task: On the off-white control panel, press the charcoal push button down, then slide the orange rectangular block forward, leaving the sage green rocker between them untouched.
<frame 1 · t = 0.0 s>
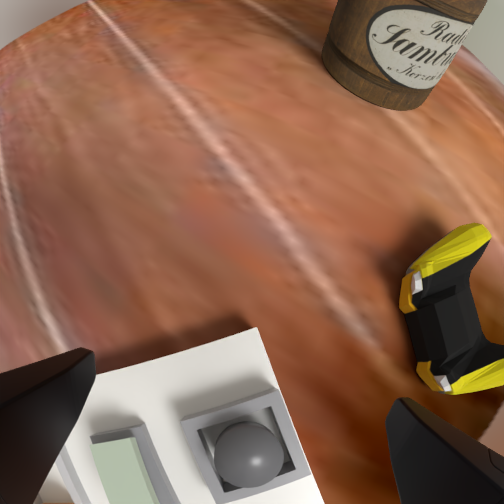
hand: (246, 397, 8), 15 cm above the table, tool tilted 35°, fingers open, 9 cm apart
rocker: (126, 484, 15), point 5 cm above the table, hinge at 12.0°
panel: (143, 463, 19), on the table
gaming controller: (444, 322, 25), on the table
push button: (247, 454, 16), point 5 cm above the table, slide at 0.0 cm
wooden container: (375, 72, 35), on the table
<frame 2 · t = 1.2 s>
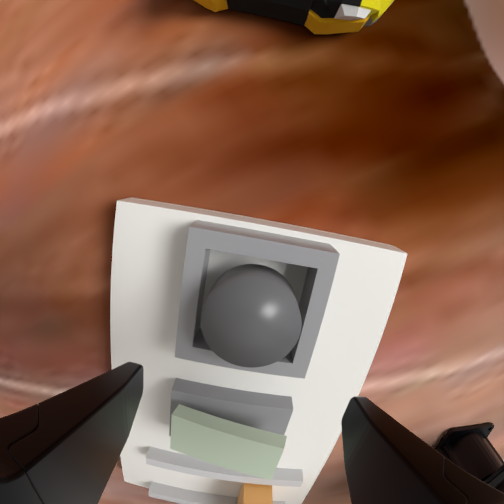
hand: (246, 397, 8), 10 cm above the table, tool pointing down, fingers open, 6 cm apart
rocker: (225, 444, 15), point 5 cm above the table, hinge at 12.0°
panel: (231, 393, 20), on the table
push button: (251, 315, 14), point 5 cm above the table, slide at 0.0 cm
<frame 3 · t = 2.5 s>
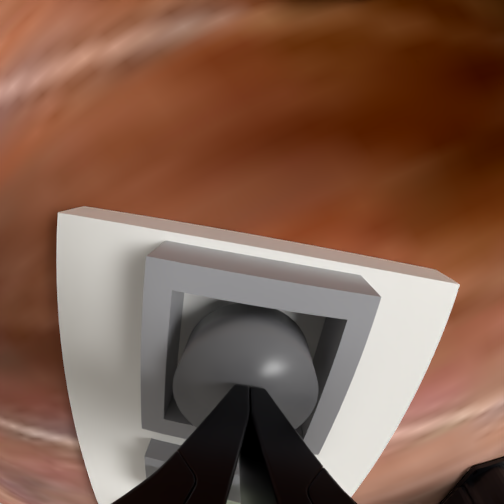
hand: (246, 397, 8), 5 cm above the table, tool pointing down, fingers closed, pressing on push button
panel: (223, 448, 15), on the table
push button: (246, 376, 9), point 4 cm above the table, slide at 0.7 cm, touching gripper
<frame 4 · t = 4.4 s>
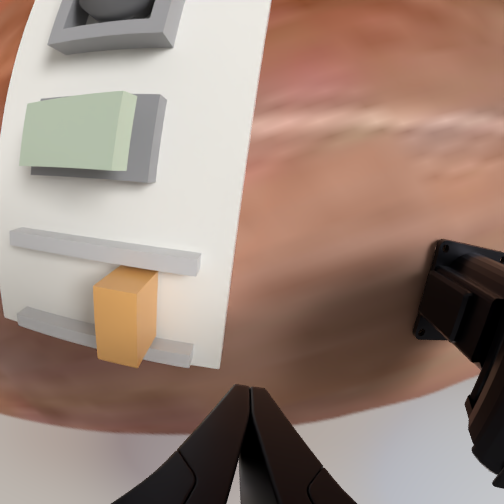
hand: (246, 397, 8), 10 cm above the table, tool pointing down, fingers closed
rocker: (69, 132, 11), point 5 cm above the table, hinge at 12.0°
panel: (114, 140, 16), on the table
orange rectangular block: (127, 314, 14), point 4 cm above the table, slide at 0.0 cm
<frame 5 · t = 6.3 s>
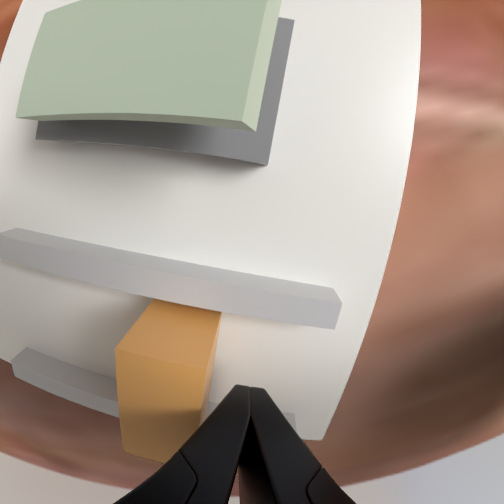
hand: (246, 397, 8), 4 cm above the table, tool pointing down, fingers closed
rocker: (125, 51, 5), point 5 cm above the table, hinge at 12.0°
panel: (178, 97, 10), on the table
orange rectangular block: (172, 381, 8), point 4 cm above the table, slide at 1.1 cm, touching gripper
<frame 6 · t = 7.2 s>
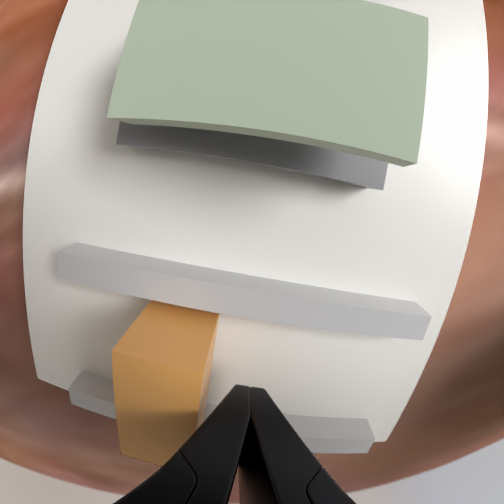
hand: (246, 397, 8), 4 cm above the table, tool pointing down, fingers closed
rocker: (264, 60, 5), point 5 cm above the table, hinge at 12.0°
panel: (261, 108, 10), on the table
orange rectangular block: (169, 383, 8), point 4 cm above the table, slide at 4.1 cm, touching gripper
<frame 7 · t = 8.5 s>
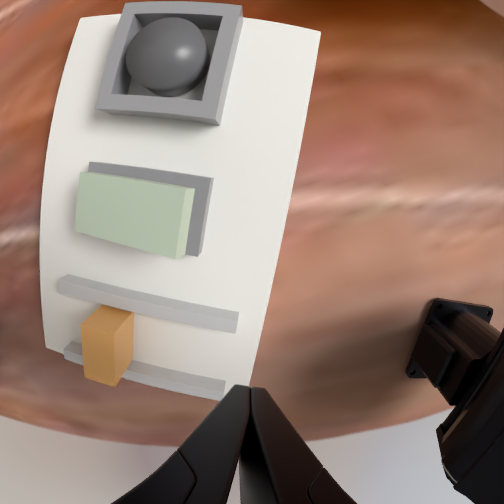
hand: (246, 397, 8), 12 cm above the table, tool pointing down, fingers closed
rocker: (128, 210, 14), point 5 cm above the table, hinge at 12.0°
panel: (158, 201, 19), on the table
orange rectangular block: (108, 343, 17), point 4 cm above the table, slide at 4.1 cm
push button: (168, 57, 14), point 3 cm above the table, slide at 1.2 cm
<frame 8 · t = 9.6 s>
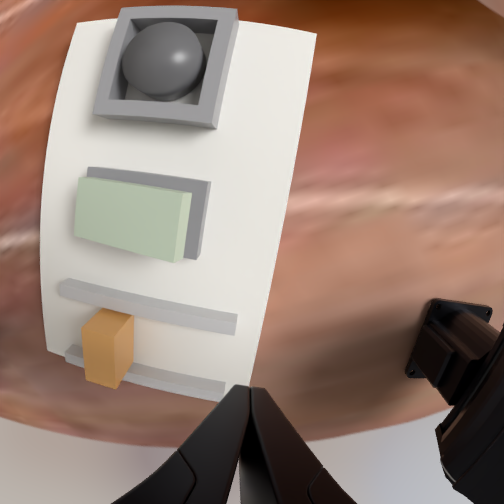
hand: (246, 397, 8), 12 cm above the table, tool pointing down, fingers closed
rocker: (126, 215, 14), point 5 cm above the table, hinge at 12.0°
panel: (156, 205, 19), on the table
orange rectangular block: (109, 346, 17), point 4 cm above the table, slide at 4.1 cm
push button: (165, 61, 14), point 3 cm above the table, slide at 1.2 cm
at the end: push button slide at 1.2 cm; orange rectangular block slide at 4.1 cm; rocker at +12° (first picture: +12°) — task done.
